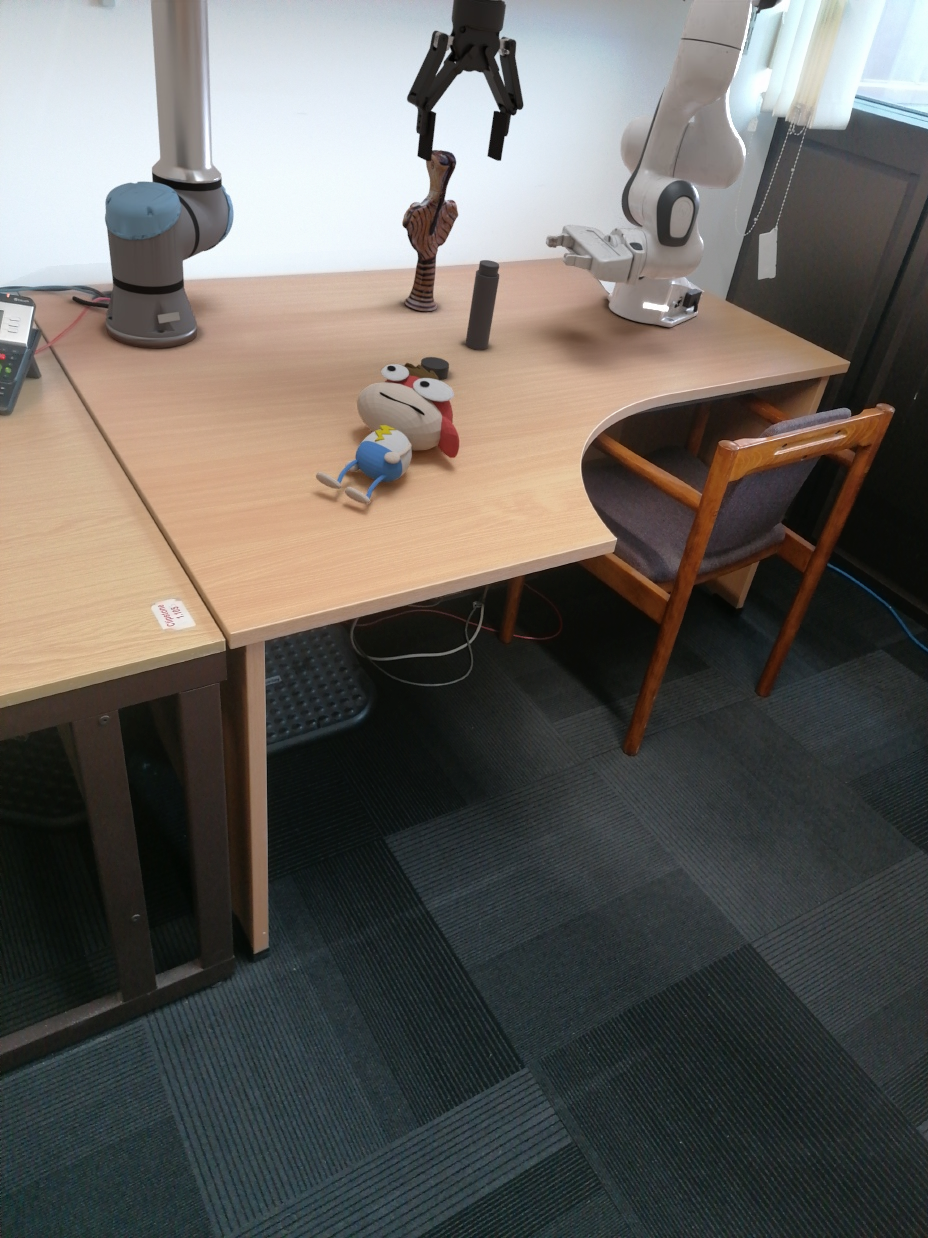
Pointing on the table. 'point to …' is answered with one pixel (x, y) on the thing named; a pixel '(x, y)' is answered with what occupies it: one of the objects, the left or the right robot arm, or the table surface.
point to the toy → (399, 425)
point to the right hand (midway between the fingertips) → (555, 249)
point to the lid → (436, 366)
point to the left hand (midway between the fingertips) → (460, 158)
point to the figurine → (430, 228)
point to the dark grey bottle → (482, 305)
